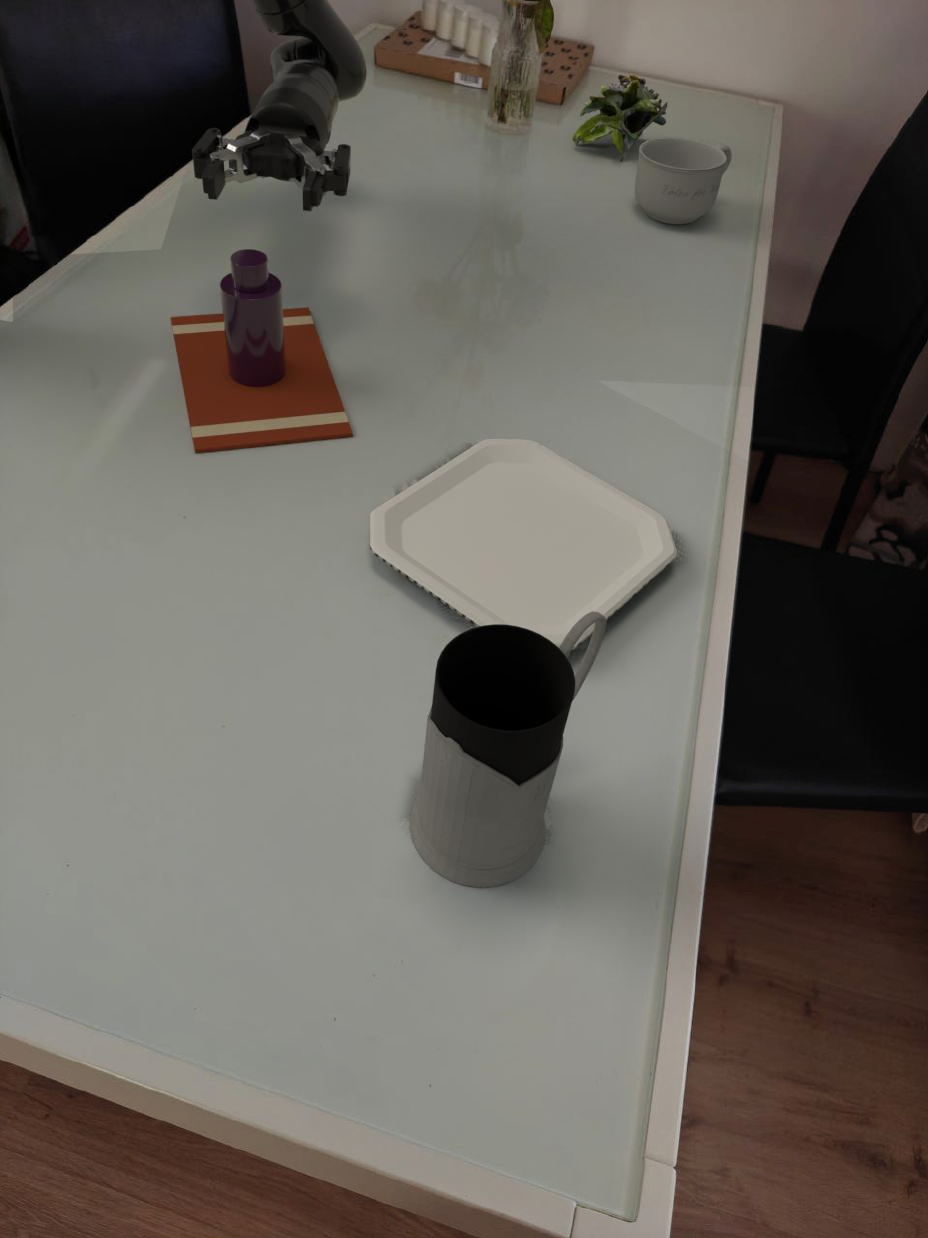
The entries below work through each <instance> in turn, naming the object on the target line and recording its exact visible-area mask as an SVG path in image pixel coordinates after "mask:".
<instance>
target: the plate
mask: <svg viewBox="0 0 928 1238" xmlns="http://www.w3.org/2000/svg"><path fill="white" fill-rule="evenodd" d="M369 549H370V551H371V552H372V554H373V556H374V557H376V558H378V560H380V561H382V562H383V563H385V564H386V565H388V566H389V567H391V568H392V569H393V570H395V571H396V572H397V573H399V574H401V575H402V576H403V577H405V578H406V579H408V580H409V581H411V582H412V583H414V584H415V585H416V586H417V587H419V588H420V589H422V590H424V591H425V592H426V593H428V594H429V595H430V596H432V597H434V598H435V599H436V600H438V601H439V602H441V603H443V605H445V606H446V607H448V608H449V609H451V610H452V611H454V612H455V613H456V614H458V615H459V616H461V617H462V618H463V619H465V620H466V621H468V622H469V623H471V624H472V625H473V626H475V627H480V626H484V625H493V624H503V625H512V626H518V627H522V628H525V629H529V630H531V631H534V632H536V633H538V634H540V635H542V636H544V637H545V638H547V639H549V640H550V641H551V642H552V643H554V644H555V645H556V646H557V647H558V648H559V647H560V645H561V643H562V642H563V640H564V638H565V637H566V635H567V634H568V633H569V631H570V630H571V628H572V627H573V626H574V625H575V624H576V623H577V622H578V621H579V620H580V619H581V618H582V617H583V616H585V615H586V614H588V613H590V612H592V611H594V612H599V613H600V614H602V615H603V616H604V617H605V618H606V621H607V620H608V619H610V618H611V617H612V616H613V615H614V614H615V613H616V612H618V610H620V609H621V608H622V607H623V606H624V605H625V604H626V603H628V602H629V601H630V600H631V599H632V598H634V596H635V595H637V594H638V593H639V592H640V591H641V590H642V589H643V588H645V586H647V585H648V584H649V583H650V582H651V581H652V580H653V579H654V578H656V577H657V576H658V575H659V574H660V573H662V571H663V570H665V568H667V567H668V566H669V565H670V564H672V563H673V561H675V560H676V558H677V554H678V550H677V546H676V543H675V541H674V537H673V534H672V531H671V528H670V525H669V521H668V520H667V519H666V518H665V517H664V516H663V515H662V514H660V513H658V512H657V511H655V510H653V508H650V507H648V506H647V505H645V504H643V503H641V502H640V501H638V500H637V499H635V498H633V497H631V496H630V495H628V494H626V493H624V492H623V491H621V490H619V489H617V488H616V487H614V486H612V485H611V484H609V483H608V482H606V481H604V480H602V479H601V478H598V477H597V476H595V475H594V474H592V473H590V472H588V471H587V470H585V469H583V468H581V467H580V466H578V465H576V464H574V463H572V462H571V461H569V460H568V459H566V458H564V457H562V456H560V455H559V454H557V453H556V452H554V451H552V450H551V449H549V448H547V447H545V446H543V445H542V444H541V443H539V442H536V441H534V440H531V439H518V438H517V439H513V438H486V439H482V440H480V441H479V442H477V443H476V444H474V445H472V446H471V447H469V448H467V450H464V451H463V452H461V453H460V454H459V455H457V456H456V457H454V458H452V459H451V460H449V461H448V462H446V463H445V464H444V465H441V466H440V467H438V468H437V469H435V470H434V471H432V472H430V473H429V474H427V475H426V476H424V477H423V478H421V479H420V480H418V481H417V482H415V483H413V484H411V485H410V486H409V487H407V488H405V489H404V490H402V491H401V492H399V493H398V494H396V495H395V496H393V497H391V498H390V499H388V500H386V501H385V502H383V503H382V504H380V505H379V506H378V507H375V508H374V509H373V510H372V511H371V513H370V515H369ZM594 627H595V623H593V624H592V625H591V626H589V627H588V628H587V629H586V631H585V632H584V633H583V634H582V635H581V637H580V638H579V639H578V641H577V642H576V644H575V645H574V647H573V649H572V650H571V651H573V650H575V649H576V648H577V647H578V646H580V645H581V644H582V643H583V642H584V641H586V639H588V638H589V637H590V636H592V634H593V631H594Z"/></svg>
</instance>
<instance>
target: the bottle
mask: <svg viewBox="0 0 928 1238" xmlns="http://www.w3.org/2000/svg"><path fill="white" fill-rule="evenodd" d="M229 260H230V271H231V272H230V273H228V274H226V275H225V276H223V277H222V279H221V280H220V283H219V288H220V289H219V290H220V299H221V309H222V313H223V321H224V331H225V341H226V351H227V361H228V371H229V375H230V377H231V378H232V379H233V380H234V381H236V382H238V383H240V384H242V385H245V386H251V387H263V386H269V385H272V384H275V383H277V382H278V381H280V380H281V379H282V378H283V377H284V376H285V373H286V363H285V343H284V323H283V309H284V307H283V305H284V303H283V285H282V281H281V280H280V278H279V277H278V276H276V275H275V274H274V273H271V272H269V259H268V256H267V255H266V253H265V252H263V251H261V250H257V249H251V248H247V249H239V250H236V251H234V252H233V253H232V254H231V255H230V257H229Z"/></svg>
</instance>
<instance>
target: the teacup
mask: <svg viewBox="0 0 928 1238" xmlns="http://www.w3.org/2000/svg"><path fill="white" fill-rule="evenodd" d="M732 153H733V152H732V149H731V147H730V146H728V145H727V144H725V143H717V144H712V143H708V142H706V141H702V140H699V139H695V138H691V137H682V136H681V137H680V136H663V137H655V138H650V139H648V140H646V141H645V140H644V142H642V143H641V144H640V145H639V147H638V154H639V155H638V161H637V167H636V174H635V180H634V197H635V200H636V202H637V204H638V205H639V207H640V208H641V209H642V210H643V211H644V213H645V214H646V216H648V217H649V218H650V219H653V220H655V221H657V222H660V223H664V224H668V225H684V224H685V225H686V224H690V223H692V222H695V221H696V220H698V219H699V218H701V217H702V216H704V215H706V214H707V213H709V212H710V211H711V209H712V208H713V207H714V205H715V203H716V199H717V197H718V194H719V190H720V186H721V184H722V183H721V182H722V177H723V175H724V174H725V173H726V171H727V170H728V169H729V166H730V164H731V161H732V155H733V154H732Z"/></svg>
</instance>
